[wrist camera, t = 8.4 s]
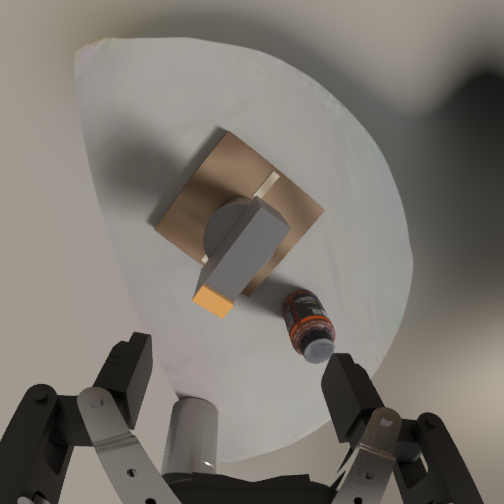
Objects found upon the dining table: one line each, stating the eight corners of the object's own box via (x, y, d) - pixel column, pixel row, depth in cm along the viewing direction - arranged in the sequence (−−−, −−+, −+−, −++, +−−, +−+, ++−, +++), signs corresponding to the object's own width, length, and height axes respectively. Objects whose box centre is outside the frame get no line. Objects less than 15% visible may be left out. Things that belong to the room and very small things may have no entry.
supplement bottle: (287, 327, 44) (300, 375, 34) (277, 296, 43) (289, 342, 32) (323, 315, 44) (345, 360, 33) (315, 284, 42) (338, 325, 31)
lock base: (247, 292, 42) (250, 326, 34) (157, 226, 38) (136, 247, 30) (321, 208, 38) (344, 223, 30) (229, 131, 34) (226, 124, 26)
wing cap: (237, 179, 28) (237, 190, 20) (293, 220, 29) (314, 246, 21) (187, 250, 30) (170, 286, 22) (241, 286, 31) (243, 330, 23)
